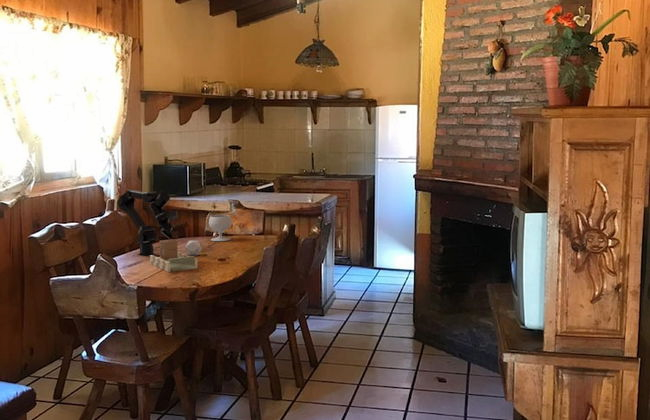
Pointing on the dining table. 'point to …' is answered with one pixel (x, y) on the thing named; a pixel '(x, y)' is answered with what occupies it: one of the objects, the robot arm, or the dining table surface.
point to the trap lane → (175, 263)
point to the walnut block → (168, 249)
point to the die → (193, 248)
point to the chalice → (220, 225)
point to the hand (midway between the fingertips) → (170, 236)
